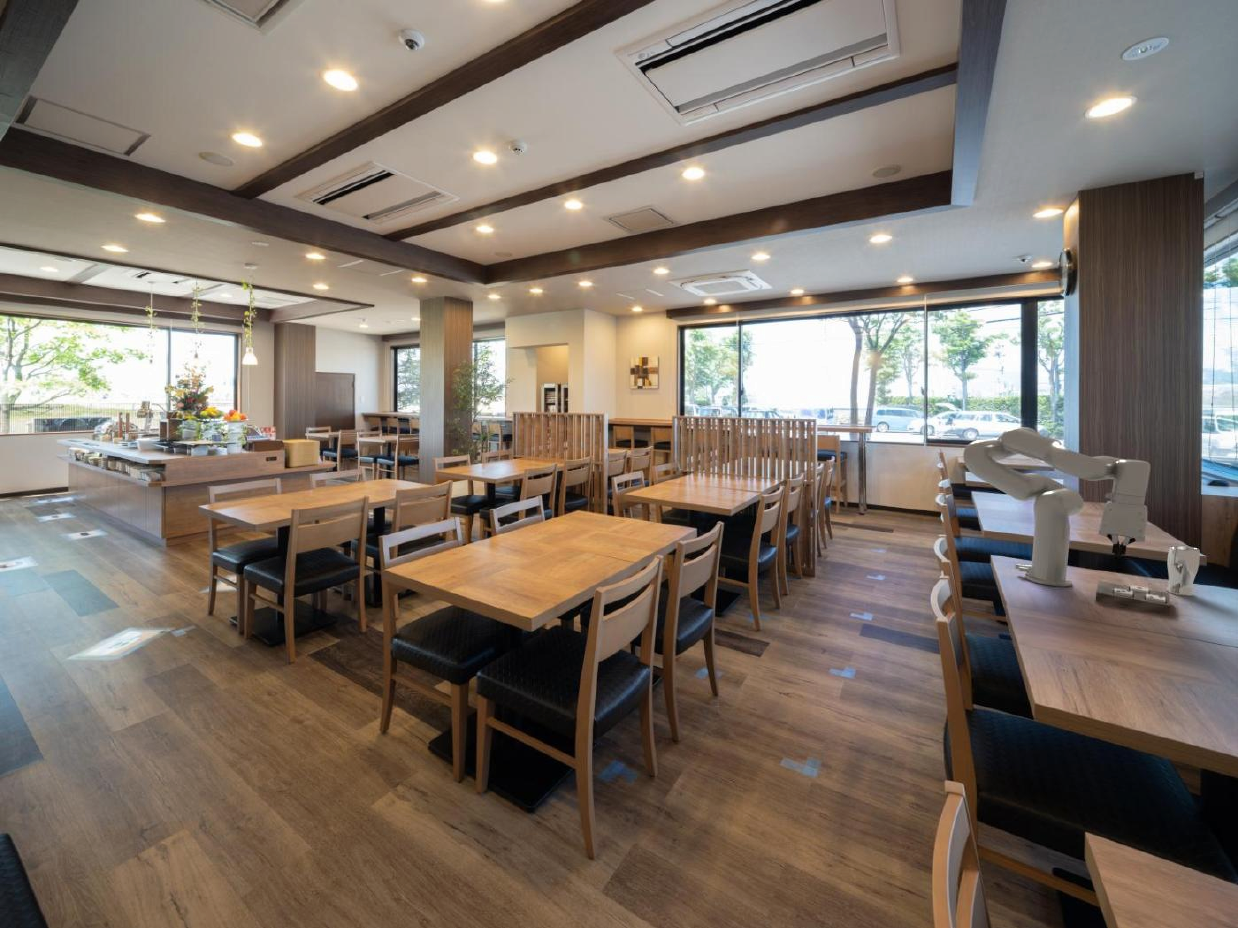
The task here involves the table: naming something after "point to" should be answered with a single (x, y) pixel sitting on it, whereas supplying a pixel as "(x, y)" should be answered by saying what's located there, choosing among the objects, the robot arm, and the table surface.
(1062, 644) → the table surface
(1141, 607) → the button board
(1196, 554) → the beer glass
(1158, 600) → the tile two pips
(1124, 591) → the tile three pips
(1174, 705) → the table surface
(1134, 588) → the tile one pip
